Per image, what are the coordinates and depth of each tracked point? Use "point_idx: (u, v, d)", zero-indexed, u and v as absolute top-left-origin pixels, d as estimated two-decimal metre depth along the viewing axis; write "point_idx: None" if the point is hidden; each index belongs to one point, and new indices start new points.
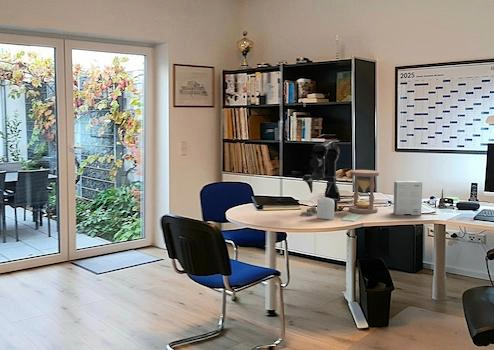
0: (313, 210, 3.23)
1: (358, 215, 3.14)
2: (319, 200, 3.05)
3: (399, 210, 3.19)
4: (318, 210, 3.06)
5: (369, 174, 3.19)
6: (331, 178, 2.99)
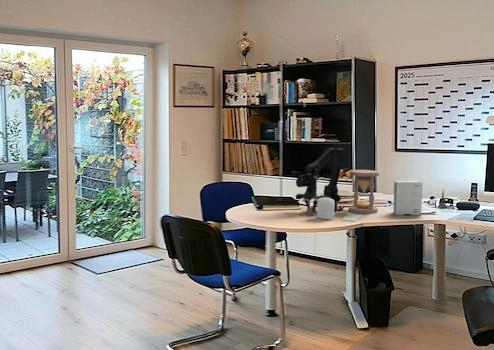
0: None
1: (358, 215, 3.14)
2: (319, 200, 3.05)
3: (399, 210, 3.19)
4: (318, 210, 3.06)
5: (369, 174, 3.19)
6: (322, 197, 3.16)
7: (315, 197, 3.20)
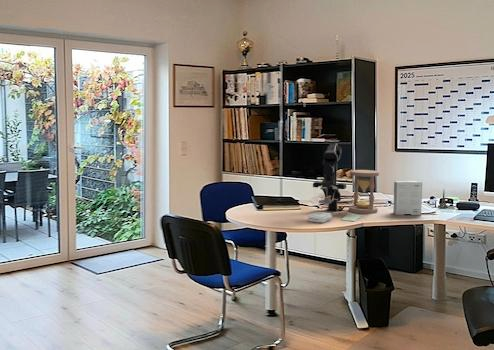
0: None
1: (358, 215, 3.14)
2: None
3: (399, 210, 3.19)
4: None
5: (369, 174, 3.19)
6: (341, 185, 3.03)
7: (333, 185, 3.08)
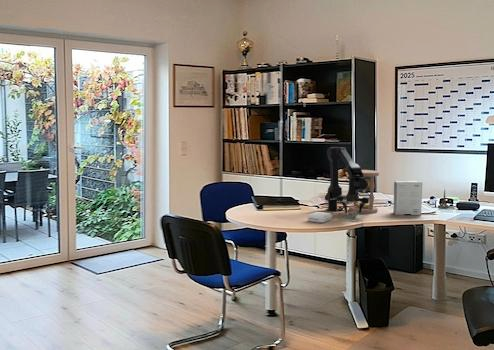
0: (355, 213, 3.11)
1: (358, 215, 3.14)
2: None
3: (399, 210, 3.19)
4: None
5: (369, 174, 3.19)
6: (365, 199, 3.04)
7: None
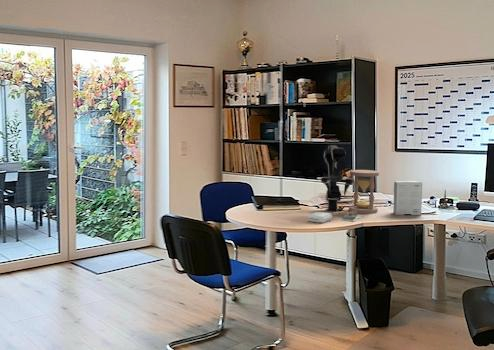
0: (355, 213, 3.11)
1: (358, 215, 3.14)
2: None
3: (399, 210, 3.19)
4: None
5: (369, 174, 3.19)
6: (349, 180, 3.11)
7: None
